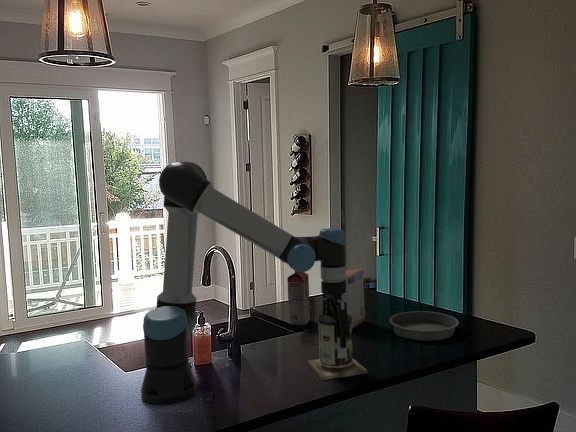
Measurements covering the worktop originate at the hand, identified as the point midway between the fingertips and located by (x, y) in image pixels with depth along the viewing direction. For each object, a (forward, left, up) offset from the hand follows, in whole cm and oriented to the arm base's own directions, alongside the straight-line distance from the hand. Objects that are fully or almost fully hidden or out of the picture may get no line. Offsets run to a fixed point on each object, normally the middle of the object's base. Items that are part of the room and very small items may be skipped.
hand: (335, 351), depth 167 cm
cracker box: (+22, +40, -5) cm, 46 cm away
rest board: (0, 0, -5) cm, 5 cm away
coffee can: (0, 0, -3) cm, 3 cm away
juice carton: (+5, +52, -5) cm, 53 cm away
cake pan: (+43, +22, -6) cm, 49 cm away
